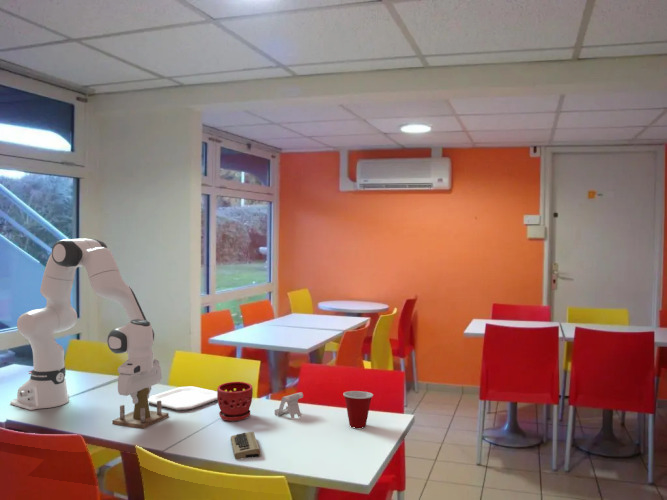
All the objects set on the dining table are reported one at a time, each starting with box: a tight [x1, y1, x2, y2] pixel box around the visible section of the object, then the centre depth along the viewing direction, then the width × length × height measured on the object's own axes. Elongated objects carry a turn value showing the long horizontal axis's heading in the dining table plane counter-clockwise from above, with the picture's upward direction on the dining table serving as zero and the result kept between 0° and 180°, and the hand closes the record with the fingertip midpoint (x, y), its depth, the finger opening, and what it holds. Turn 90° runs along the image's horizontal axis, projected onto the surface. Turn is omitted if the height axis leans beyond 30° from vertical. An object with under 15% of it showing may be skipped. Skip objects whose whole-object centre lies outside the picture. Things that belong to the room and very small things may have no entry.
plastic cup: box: [343, 390, 374, 429], centre depth 202 cm, size 11×11×12 cm
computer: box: [230, 431, 262, 460], centre depth 181 cm, size 16×8×3 cm, turn 15°
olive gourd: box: [133, 388, 151, 420], centre depth 207 cm, size 6×6×11 cm
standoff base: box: [112, 401, 170, 429], centre depth 208 cm, size 14×14×6 cm
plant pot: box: [216, 381, 254, 422], centre depth 211 cm, size 13×13×12 cm
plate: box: [148, 385, 218, 411], centre depth 232 cm, size 25×25×2 cm
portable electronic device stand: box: [274, 391, 304, 419], centre depth 214 cm, size 9×8×8 cm
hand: (141, 401), depth 208 cm, fingers open, 4 cm apart
